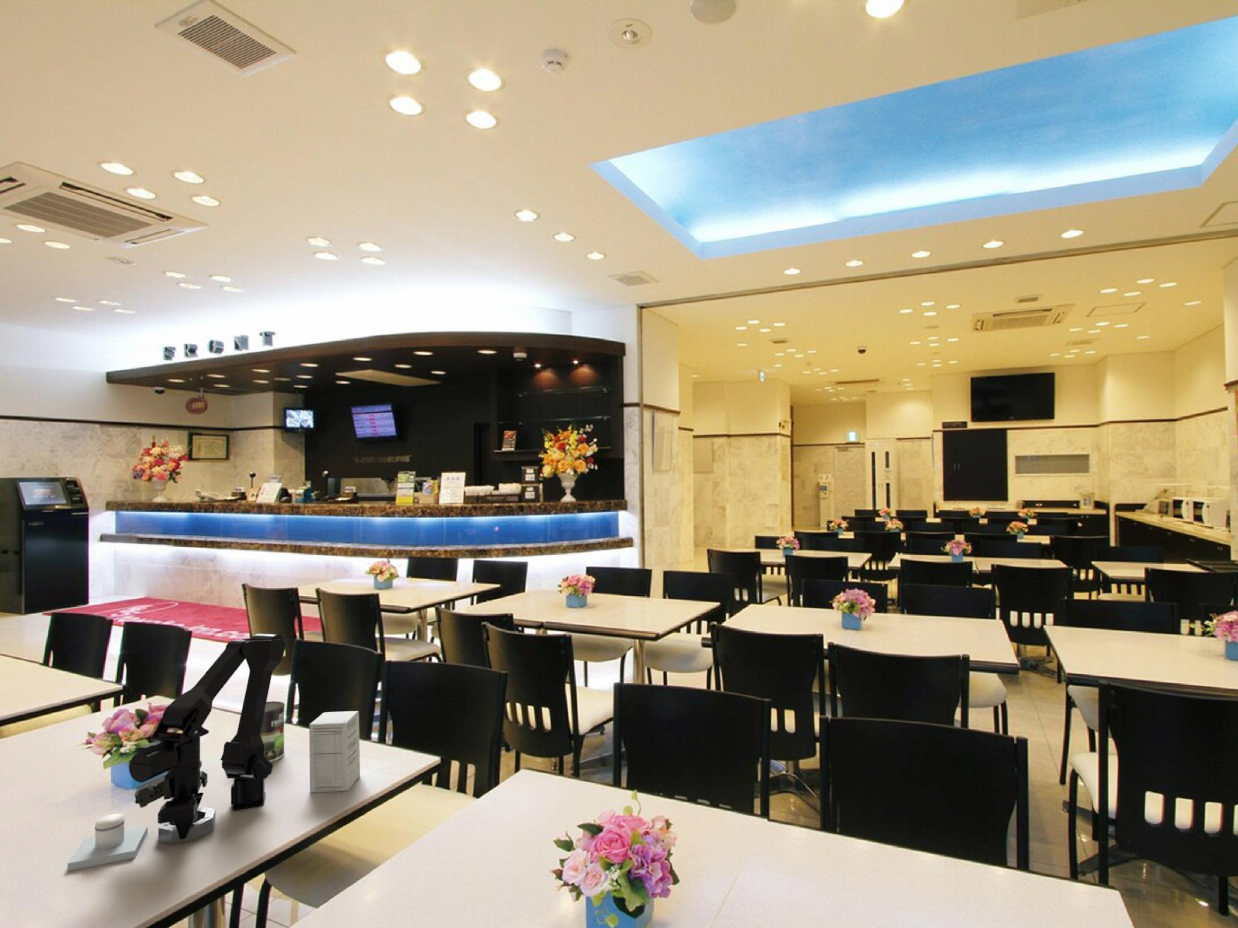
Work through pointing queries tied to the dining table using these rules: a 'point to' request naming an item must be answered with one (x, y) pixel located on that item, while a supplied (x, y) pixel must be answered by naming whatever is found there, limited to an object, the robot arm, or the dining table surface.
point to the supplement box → (334, 751)
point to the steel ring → (198, 829)
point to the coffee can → (273, 731)
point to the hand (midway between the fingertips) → (184, 836)
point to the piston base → (110, 854)
